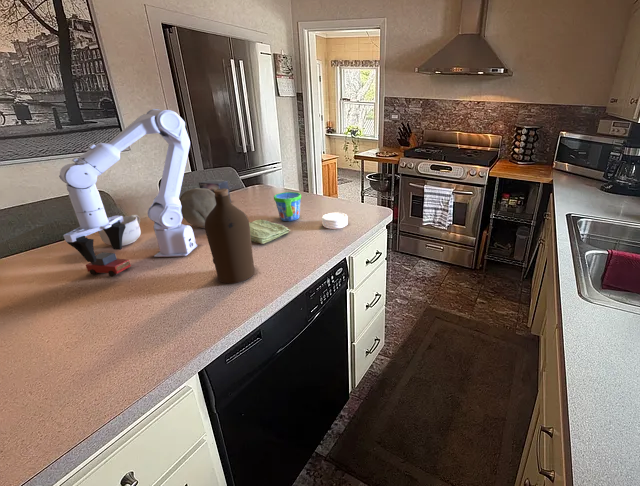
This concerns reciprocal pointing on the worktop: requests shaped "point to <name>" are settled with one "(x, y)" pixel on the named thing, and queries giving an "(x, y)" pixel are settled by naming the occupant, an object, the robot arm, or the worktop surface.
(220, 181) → the small box
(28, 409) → the worktop surface
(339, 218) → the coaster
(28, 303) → the worktop surface
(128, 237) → the teacup
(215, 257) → the olive oil
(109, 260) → the toy car
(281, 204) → the snack cup
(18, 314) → the worktop surface
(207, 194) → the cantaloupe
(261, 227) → the washcloth
